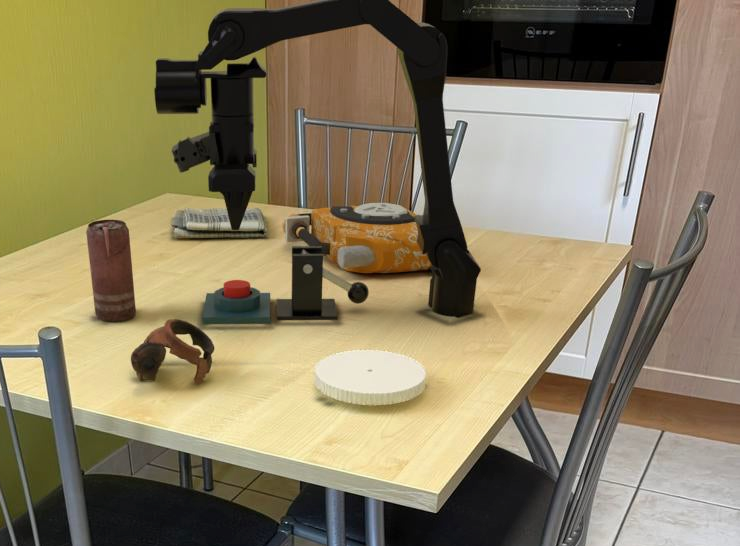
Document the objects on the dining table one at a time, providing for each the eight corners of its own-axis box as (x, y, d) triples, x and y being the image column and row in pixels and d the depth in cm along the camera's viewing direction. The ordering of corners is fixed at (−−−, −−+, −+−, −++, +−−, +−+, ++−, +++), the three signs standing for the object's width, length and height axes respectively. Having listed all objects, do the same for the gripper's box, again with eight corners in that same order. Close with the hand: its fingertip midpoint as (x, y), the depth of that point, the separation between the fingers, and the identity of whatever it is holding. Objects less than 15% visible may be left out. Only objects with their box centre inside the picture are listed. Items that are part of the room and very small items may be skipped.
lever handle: (360, 303, 141) (371, 285, 140) (361, 310, 139) (373, 292, 137) (293, 264, 138) (304, 245, 137) (293, 270, 136) (305, 251, 134)
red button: (250, 290, 141) (250, 279, 140) (250, 299, 137) (249, 288, 136) (224, 291, 141) (224, 279, 140) (223, 299, 137) (222, 288, 137)
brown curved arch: (158, 359, 127) (186, 310, 123) (205, 403, 125) (234, 355, 121) (101, 367, 117) (128, 314, 113) (150, 415, 115) (180, 362, 111)
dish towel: (262, 215, 192) (262, 199, 190) (268, 239, 177) (268, 222, 175) (173, 217, 191) (172, 201, 189) (171, 241, 176) (170, 224, 174)
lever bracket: (334, 305, 144) (336, 243, 139) (337, 324, 137) (339, 258, 132) (276, 306, 144) (276, 243, 139) (276, 324, 137) (276, 258, 132)
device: (329, 240, 146) (275, 197, 170) (328, 291, 150) (275, 242, 175) (459, 228, 151) (388, 188, 175) (454, 278, 155) (386, 232, 180)
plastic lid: (413, 366, 123) (415, 348, 122) (434, 411, 112) (436, 392, 110) (309, 368, 123) (309, 350, 122) (319, 414, 111) (320, 395, 110)
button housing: (270, 303, 145) (270, 281, 144) (270, 328, 136) (270, 305, 134) (207, 303, 146) (206, 281, 144) (202, 328, 136) (201, 305, 134)
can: (98, 325, 137) (88, 231, 130) (93, 311, 143) (83, 219, 135) (139, 321, 139) (131, 227, 131) (132, 308, 144) (124, 216, 137)
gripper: (179, 103, 134) (185, 213, 142) (167, 125, 118) (174, 247, 126) (256, 103, 134) (257, 213, 142) (254, 125, 118) (255, 247, 126)
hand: (235, 229), depth 134 cm, fingers closed
